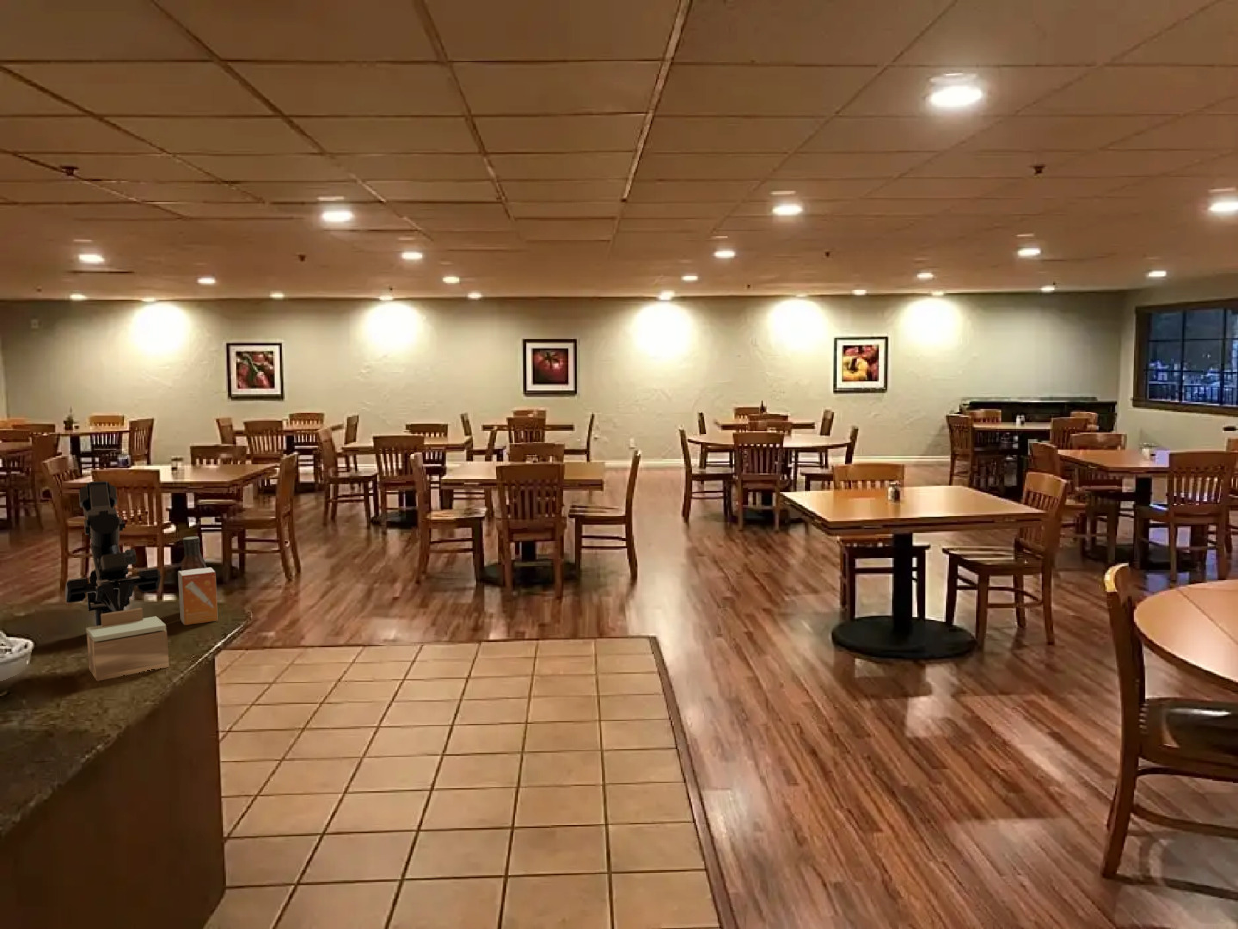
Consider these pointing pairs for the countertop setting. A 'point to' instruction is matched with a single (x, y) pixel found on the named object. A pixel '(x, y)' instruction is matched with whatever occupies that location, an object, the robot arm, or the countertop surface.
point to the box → (128, 654)
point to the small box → (197, 595)
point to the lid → (124, 625)
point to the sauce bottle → (192, 554)
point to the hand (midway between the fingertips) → (120, 616)
